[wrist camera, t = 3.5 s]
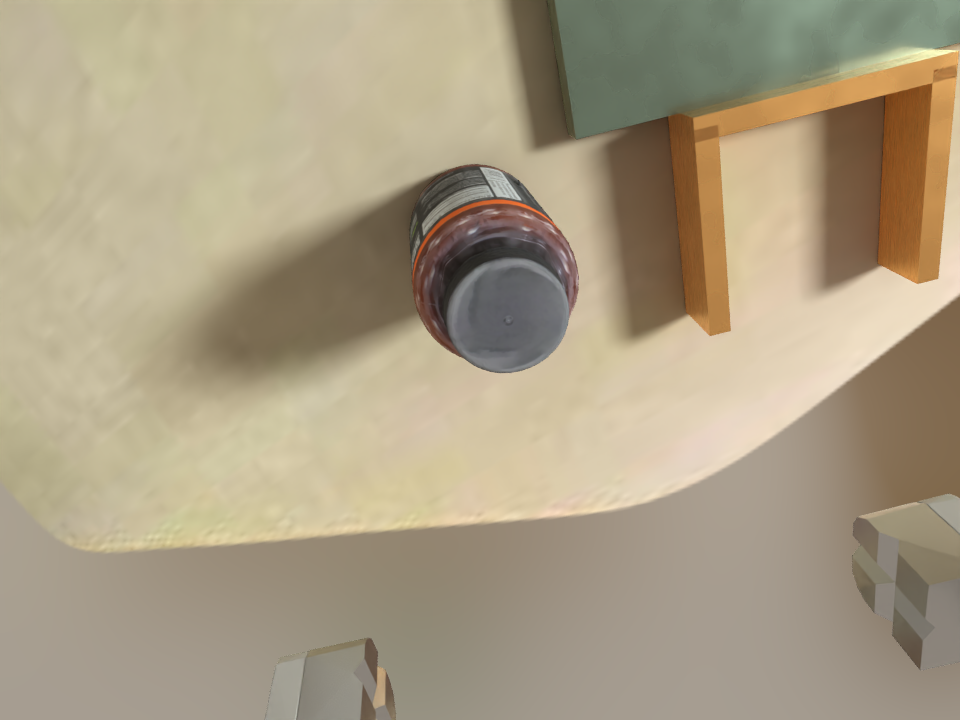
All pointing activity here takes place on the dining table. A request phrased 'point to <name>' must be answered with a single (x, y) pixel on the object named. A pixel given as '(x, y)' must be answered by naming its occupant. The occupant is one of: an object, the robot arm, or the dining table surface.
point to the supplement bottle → (490, 269)
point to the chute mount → (768, 103)
